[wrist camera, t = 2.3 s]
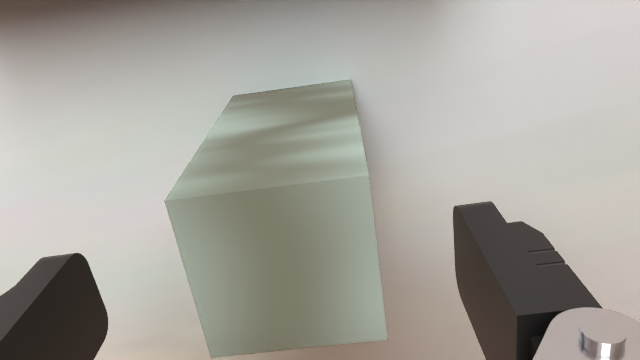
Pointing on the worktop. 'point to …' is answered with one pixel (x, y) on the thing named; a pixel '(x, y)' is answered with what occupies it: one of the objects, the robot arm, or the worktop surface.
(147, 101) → the worktop surface
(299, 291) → the peg
